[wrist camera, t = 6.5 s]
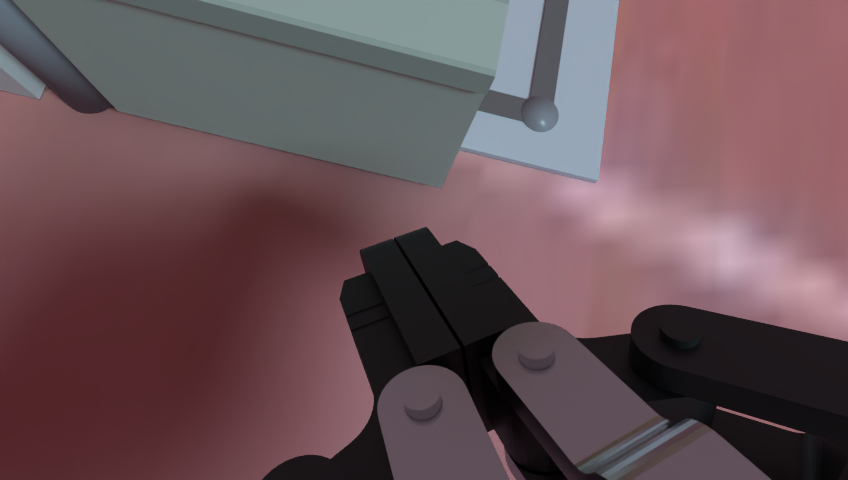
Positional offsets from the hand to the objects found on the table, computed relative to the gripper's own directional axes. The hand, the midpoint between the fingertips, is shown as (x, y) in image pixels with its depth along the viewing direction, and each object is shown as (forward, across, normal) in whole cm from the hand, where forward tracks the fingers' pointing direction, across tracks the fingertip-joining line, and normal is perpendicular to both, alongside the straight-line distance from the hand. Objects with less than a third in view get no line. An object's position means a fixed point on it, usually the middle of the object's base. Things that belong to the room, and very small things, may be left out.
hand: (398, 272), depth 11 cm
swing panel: (+8, +1, -1) cm, 8 cm away
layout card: (+10, -7, -2) cm, 12 cm away
